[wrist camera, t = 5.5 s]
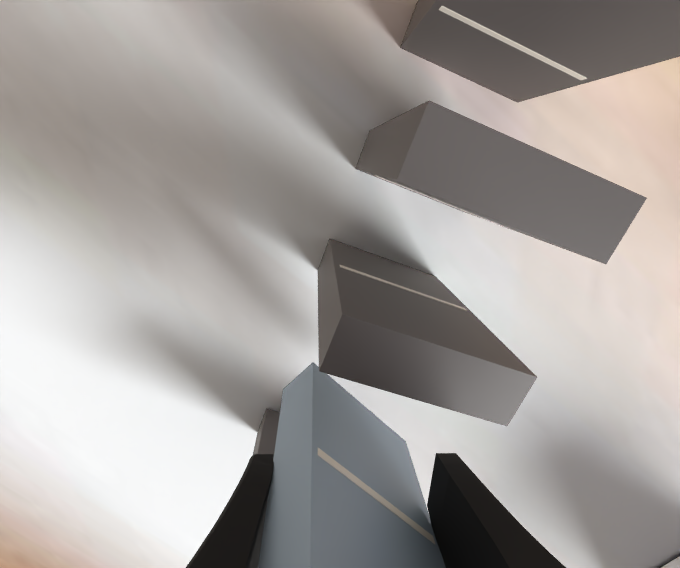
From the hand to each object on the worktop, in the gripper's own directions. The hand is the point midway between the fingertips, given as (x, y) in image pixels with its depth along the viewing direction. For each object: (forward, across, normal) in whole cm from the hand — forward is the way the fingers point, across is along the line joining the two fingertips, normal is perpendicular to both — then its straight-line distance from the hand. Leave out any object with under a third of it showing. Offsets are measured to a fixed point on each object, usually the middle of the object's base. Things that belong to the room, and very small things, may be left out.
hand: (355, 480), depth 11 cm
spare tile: (+3, 0, 0) cm, 3 cm away
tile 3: (+7, -1, -4) cm, 8 cm away
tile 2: (+7, -3, -9) cm, 11 cm away
